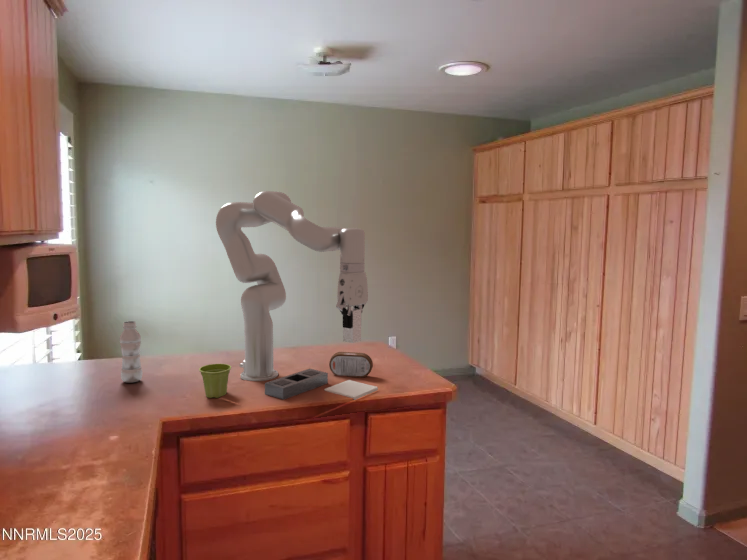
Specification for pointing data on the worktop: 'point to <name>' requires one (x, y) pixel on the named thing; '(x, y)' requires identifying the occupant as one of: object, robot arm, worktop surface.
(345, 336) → the steel block
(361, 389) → the pad
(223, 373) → the plant pot
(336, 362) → the tin
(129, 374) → the plastic bottle
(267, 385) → the grey compartment holder
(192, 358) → the worktop surface
